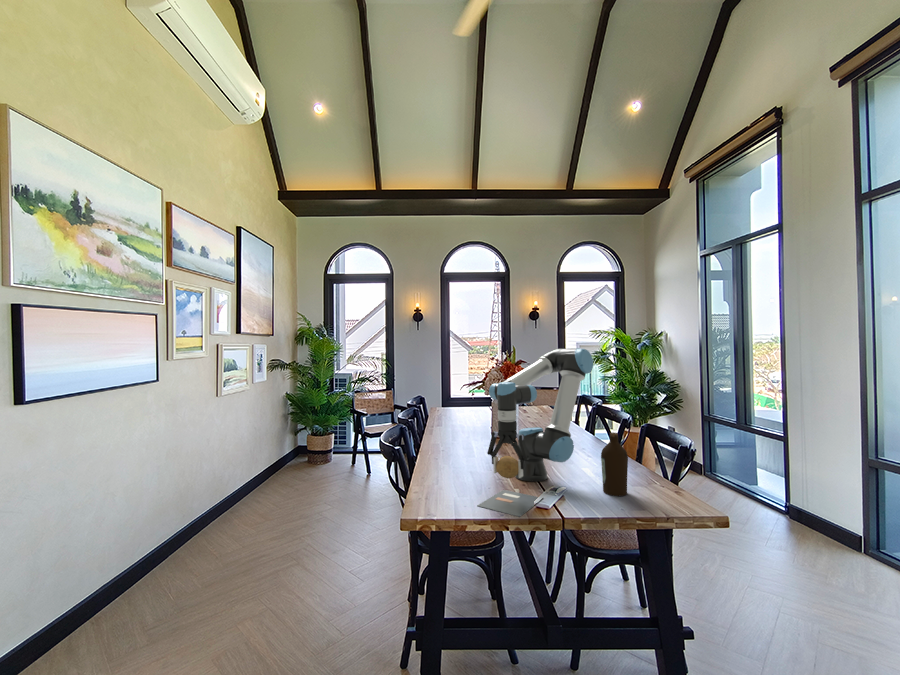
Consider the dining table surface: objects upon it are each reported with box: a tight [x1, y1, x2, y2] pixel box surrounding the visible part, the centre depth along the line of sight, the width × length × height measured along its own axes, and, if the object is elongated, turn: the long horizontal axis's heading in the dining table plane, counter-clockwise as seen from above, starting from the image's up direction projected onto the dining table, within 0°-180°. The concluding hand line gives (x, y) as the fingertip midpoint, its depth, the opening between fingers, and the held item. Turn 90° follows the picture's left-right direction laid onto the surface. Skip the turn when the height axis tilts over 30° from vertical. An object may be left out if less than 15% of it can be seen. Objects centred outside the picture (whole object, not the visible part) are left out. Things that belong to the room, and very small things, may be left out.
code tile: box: [477, 489, 539, 518], centre depth 161 cm, size 22×18×1 cm
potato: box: [496, 455, 518, 479], centre depth 166 cm, size 10×14×8 cm
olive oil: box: [600, 431, 629, 497], centre depth 173 cm, size 11×11×25 cm
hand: (508, 474), depth 166 cm, fingers closed on potato, 10 cm apart
